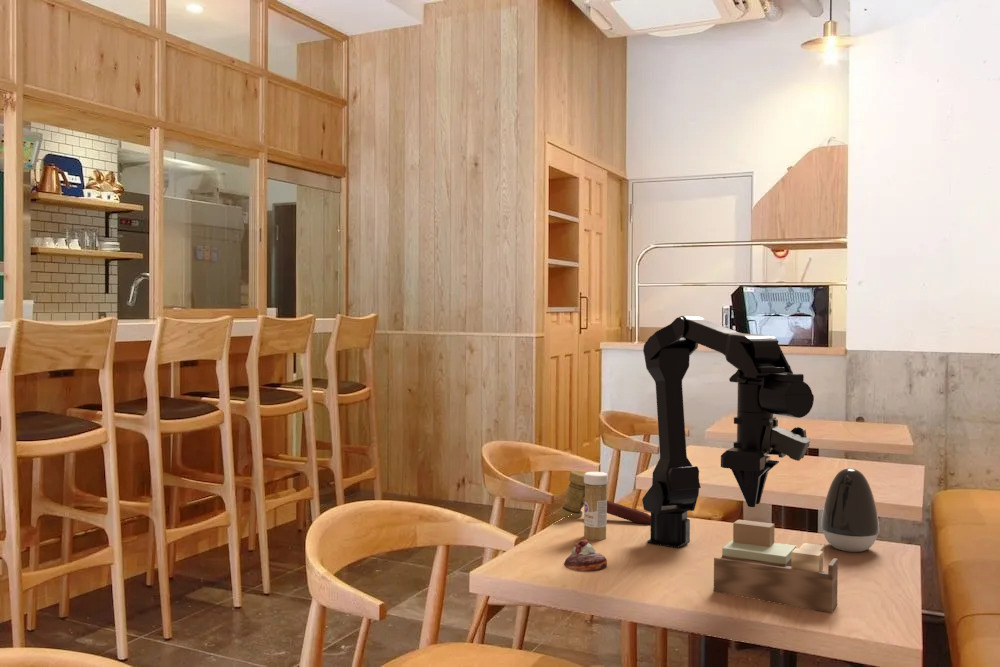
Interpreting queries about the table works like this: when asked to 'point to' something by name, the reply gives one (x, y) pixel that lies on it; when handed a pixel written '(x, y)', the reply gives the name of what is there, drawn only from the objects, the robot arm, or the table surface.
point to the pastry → (585, 558)
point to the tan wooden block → (808, 557)
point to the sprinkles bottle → (595, 505)
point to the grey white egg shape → (850, 513)
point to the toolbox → (777, 582)
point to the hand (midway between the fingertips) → (753, 505)
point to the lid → (757, 543)
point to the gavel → (577, 499)
